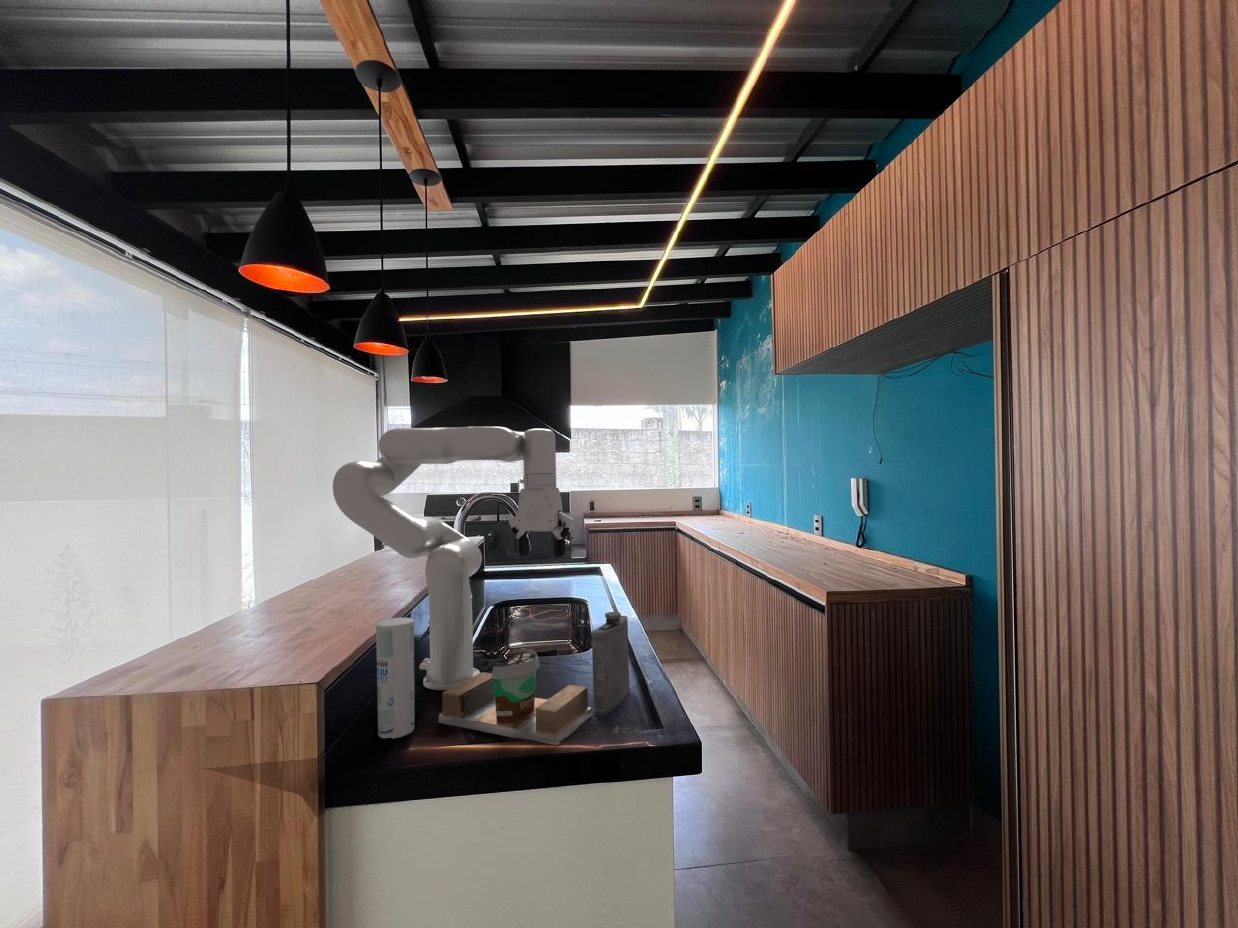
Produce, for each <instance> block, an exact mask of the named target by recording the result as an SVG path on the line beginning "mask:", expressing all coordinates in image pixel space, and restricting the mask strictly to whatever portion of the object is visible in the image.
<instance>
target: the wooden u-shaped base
mask: <svg viewBox="0 0 1238 928" xmlns="http://www.w3.org/2000/svg"><path fill="white" fill-rule="evenodd" d="M441 695H442V696H441V699H442V702H441V703H442V708H441V709H442V710H441V711H442V712H441V713H439V714H438V723H439V724H444V725H448V726H454V727H459V728H464V729H469V730H475V731H479V732H483V733H484V732H485V733H489V734H495V735H499V736H504V737H508V738H514V739H518V738H523V739H533V740H540V741H546V742H552V743H558V742H559V741H561V740H562V739H564V738H565V737H567V738H568V737H569V736H570V735H571V734H573V733H574V732H575V731H576V730H577V729H579V727H581V726H582V725H583V724H584V723H585V722H587V720H588V719H589V718H591V717H592V707H589V700H588V695H589V694H588V687H587V686H581V685H574V684H568V685H566V686H565V687H564V688H562V689H560V690H559V691H558V692H556V693H555V694H554V695H552V696H551V697H549V698H548V699H545V698H540V697H539V698H538V697H535V703H534V710H533V711H532V712H531V713H530V714H528V715H526V716H524V717H521V718H517V719H512V720H497V718H496V704H495V690H494V679H492V672H491V673H490V672H485V671H483V672H482V671H481V672H480V674H478V675H476V676H474V677H472V678H470V679H468V680H466V681H464V682H462V683H460V684H458V685H456V686H454V687H453V688H451V689H449V690H444V691H443V692H442V694H441ZM523 739H522V740H523Z"/></svg>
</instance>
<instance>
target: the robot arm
mask: <svg viewBox="0 0 1238 928" xmlns="http://www.w3.org/2000/svg"><path fill="white" fill-rule="evenodd" d="M378 450H379V453H380V455H381V457H379V459H377V460H376V461H367V460H358V461H357V460H356V461H352V462H351V461H350V462H347V463H345V464H343V465H342V466H341V467H339V468H338V470H336V473H335V474H334V477H333V481H332V493H333V498H334V501H335V503H336V506H337V507H338V508H339V510H340V511H341V512H342V514H344V516H346V518H348V519H349V520H350V521H352V523H354V524H356V525H357V526H358V527H359V528H362V530H363V529H364V531H366V532H367V533H369V534H370V535H372V536H373V537H375V538H376V539H378V540H379V541H380V542H381V543H384V544H385V545H386V546H388V547H389V548H390V549H392V550H393V551H395V552H396V553H398V554H399V555H400V556H402V557H404V558H407V559H419V558H421V557H426V558H427V560H426V563H425V566H424V567H425V568H424V569H425V570H424V571H425V579H426V586H427V592H428V610H429V611H428V612H429V615H428V616H429V658H428V657H425V658H424V659H423V660H422V663H420V664H419V670H424V671H425V670H426V675H425V676H424V677H423V681H422V684H423V686H424V687H425V688H426V689H429V690H434V691H447V690H449V689H451V688H453V687H454V686H456V685H458V684H460V683H462V682H464V681H466V680H468V679H470V678H472V677H474V676H476V675H478V674H480V673H481V672H480V670H479V669H478V668H475V667H474V645H473V644H474V641H473V640H474V638H473V637H474V636H473V635H474V634H473V633H474V632H473V629H474V628H473V599H472V590H471V586H470V578H471V577H472V576H473V575H474V574H476V573H477V572H478V571H479V569H480V567H481V565H482V562H483V555H482V552H481V549H480V548H479V547H478V545H477V544H476V543H475V542H474V541H472V540H471V539H470V538H468V537H466V536H465V535H464V534H462V533H461V532H459V531H458V530H456V529H455V528H453V527H451V526H450V525H448V524H447V523H445V522H444V521H443V520H441V519H438V518H436V517H433V516H425V515H424V516H414V515H413V514H410V513H408V512H406V511H405V510H404V509H402V508H400V506H398V504H397V505H396V504H395V503H393V502H392V501H390V500H387V499H386V498H384V497H382V496H386V495H388V494H390V493H391V492H393V491H395V489H397V488H398V487H399V486H400V485H401V484H402V483H403V482H404V481H405V480H407V479H408V478H409V477H410V476H411V475H412V474H413V473H414V472H415V471H416V470H417V469H419V467H421V465H424V464H425V465H428V464H429V465H431V464H432V465H434V464H437V465H440V464H441V465H449V464H454V463H456V462H461V461H499V462H500V461H501V462H505V463H514V462H519V461H520V462H521V461H522V464H523V468H522V469H523V476H522V477H521V478H520V479H519V483H520V484H523V488H520V492H519V496H518V503H517V514H516V515H515V516H513V517H512V518H510V519H508V524H509V527H510V528H511V532H512V533H513V534H514V535H515V538H516V539H517V540H518V541H517V542H518V556H519V557H524V556H528V555H529V554H530V538H529V537H528V535H529V533H530V532H552V534H553V535H554V537H556V539H554V557H555V558H561V557H564V556H565V553H566V539H568V536H569V535H570V533H572V529H573V527H574V525H575V522H576V520H575V519H574V518H572V517H571V516H569V515H567V514H565V513H564V512H563V501H562V496H561V492H560V488H559V487H557V463H556V461H557V459H556V457H557V455H556V452H557V451H556V435H555V432H554V431H553V430H552V429H549V428H531V429H527V430H525V431H516V430H512V429H509V428H508V427H503V426H462V427H461V426H458V427H451V426H450V427H399V428H392V429H388V430H387V431H385V432H384V433H383V434H382V435H381V436H380V438H379V441H378ZM564 523H565V527H564V528H563V526H564Z"/></svg>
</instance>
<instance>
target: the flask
mask: <svg viewBox="0 0 1238 928" xmlns="http://www.w3.org/2000/svg"><path fill="white" fill-rule="evenodd" d="M604 618H605V623H603V624H602V625H601V626H599V627H597V628H596V629H592V630H591V650H592V651H591V653H592V656H591V657H592V658H591V659H592V690H593V691H592V693H593V695H592V699H593V715H595V716H602V717H603V716H605V715H608V714H609V713H611V712H613V711H614V710H615V709H616V708H618V707H619V706H620V705H621V704H622V703H623V702H624V701H625V700H626V698H627V697H628V695H629V694H630V690H631V689H630V664H629V663H630V660H629V657H630V656H629V625H628V624H629V622H628V621H629V619H628V616H627V615H622V614H621V612H619V611H609V612H605V613H604Z"/></svg>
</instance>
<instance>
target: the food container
mask: <svg viewBox="0 0 1238 928" xmlns="http://www.w3.org/2000/svg"><path fill="white" fill-rule="evenodd" d="M519 652H520V653H518V654H517V655H516V656H514V657H511V658H509V659H507V660H506V661H504V663H503V664H502V665H501V666H492V672H491V673H492V679H494V690H495V704H496V718H497V720H512V719H517V718H521V717H524V716H526V715H528V714H530V713H531V712H532V711H533V710H534V703H535V698H536V681H537V680H536V679H537V670H539V668H540V665H541V664H540V660H539V656H538V654H537V652H536V651H534V650H532V649H529V648H523V647H522V648H521V647H520V648H519Z"/></svg>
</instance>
